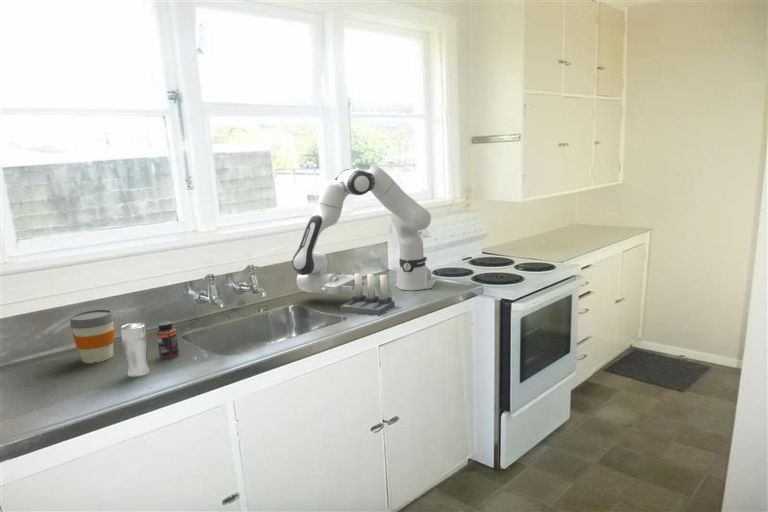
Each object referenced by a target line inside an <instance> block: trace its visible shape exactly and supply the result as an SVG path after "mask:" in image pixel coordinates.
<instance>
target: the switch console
mask: <svg viewBox="0 0 768 512" xmlns="http://www.w3.org/2000/svg"><path fill="white" fill-rule="evenodd" d="M366 278H367V279H366V280H367V296H366V298H365V299H364V300H362V301H352V299H351V300H349V301H347V302H345V303H343V304H341V305H339V311H340V312H339V313H345V314H346V313H348V314H355V313H357V314H358V315H365V314H368V315H367V316H374V315H378V316H377V317H380V316H382V315H384V314H386V313H387V312H389V311H390V310H392V309H393V308H395V306H396V305H395V300H393V297H392V296H389V288H388V287H389V283H388V281H389V280H388V274H387V275H386V274H382V275H381V274H380V276H379V282H380V283H379V284H380V287H379V288H380V297H379V295H376V283H375V281H376V280H375V274H372V273H371V274H370V273H369V274H367V277H366ZM391 308H392V309H391ZM389 309H390V310H389ZM386 311H387V312H386ZM383 313H384V314H383ZM357 314H356V315H357ZM381 314H382V315H381Z"/></svg>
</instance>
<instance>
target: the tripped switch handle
mask: <svg viewBox="0 0 768 512" xmlns="http://www.w3.org/2000/svg"><path fill="white" fill-rule="evenodd" d="M354 275H355V286H354V288H355V290H354V292H355V295H354V296H352V298H351V300H352V301H362V300H364V299H365V298H366V297H367V295H366V294H363V286H362V281H363V275H362V273H361V272H360V273H354Z"/></svg>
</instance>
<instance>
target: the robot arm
mask: <svg viewBox="0 0 768 512" xmlns="http://www.w3.org/2000/svg"><path fill="white" fill-rule="evenodd" d="M368 192H371V193H372V195H374V197H375V198H376V199H377V200H378V202H380V203H381V205H383V206H384V207H385V209H386V210H387V211H389V212H391V215H390V218H391V221H392V223H393V224H394V227H395V229H396V235H397V237H398V240H399V241H398V243H399V258H398V259H399V261H398V262H399V268H398V269H397V270H396V271H397V272H396V274H397V275H396V277H397V279H396V282H395V283H394V286H395V287H397V289H399V290H403V291H421V290H429V289H430V288H431V289H432V288H433V287H434V286H435V284H436V283H437V280H436V279H433V278H432V271H431V269H430V268H429V267H428V266H427V265H426V263H427V261H428V257H427V256H424V240H423V239H422V237H421V235H420V233H419V231H422V230H426V229H427V228H428V227H430V224H431V220H432V215H431V213H430V211H428V210H427V209H425V208H424V207H423V206H422V205H420V204H419V203H418V202H417V201H415V200H414V199H413V198H412V197H410V196H409V195H408V194H407V193H406V192H405V191H404V190H403V189H402V188H401V187H400V186H399V184H398V183H397V182H396V181H395V180H394V179H393V178H392V177H391V176H390V174H388V173H387V172H386V171H385V170H383V168H381V167H379V166H373V167H370V168H368V169H367V170H366V171H364V170H360V169H357V168H355V169H354V168H347V169H344V170H342V171H341V172H340V173H339V174H338V175H337V176H336V178H335V179H329V180H327V181H325V182H324V184H323V186H322V188H321V189H320V192H319V195H318V199H317V203H316V206H315V208H314V209H315V210H314V212H313V214H312V216H311V217H310V218H309V221H308V222H307V225H306V226H305V230H304V233H303V235H302V237H301V238H302V239H301V241H300V243H299V247H298V249H297V250H296V252H295V253H294V255H293V257H292V260H291V262H292V268H293V270H294V272H295V273H296V274H297V276H296V285H297V287H298V288H299V289H300V290H301V291H303V292H308V293H316V294H317V293H321V294H327V295H328V294H329V295H338V294H342V293H343V292H352V291H355V290H354V288H355V274H354V275H353V274H346V273H345V274H344V272H337V273H332V272H331V273H328V270H329V264H330V263H329V258H328V256H327V254H325V252H323V251H314V250H315V248H316V245H317V242H318V240H319V236H320V235H321V233H323V231H324V230H326V229H328V228H329V227H332V226H334V225H336V224H337V223H338V221H339V219H340V217H341V214H342V211H343V208H344V207H343V205H344V202H345V199H346V198H347V196H349V195H354V196H363V195H365V194H367V193H368ZM433 285H434V286H433ZM363 286H365V281H364V280H362V287H363Z"/></svg>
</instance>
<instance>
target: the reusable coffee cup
mask: <svg viewBox="0 0 768 512" xmlns="http://www.w3.org/2000/svg"><path fill="white" fill-rule="evenodd" d="M69 319H70V323H69V324H70V328H71V329H72V331H73V334H72V337H73V340H74V343H75V347H76V348H77V349H78V350H79V355H80V358H81V359H82V360H81V361H82V363H84V362H86V363H85V364H95V363H94V362H97V363H101V362H100V361H102V362H105V361H107V359H108V360H109V358H110V359H112V358H113V357H114V342H115V326H114V320H115V318H114V313H113V310H111V309H105V308H104V309H103V308H101V309H92V310H86V311H81V312H77V313H75V314H74V315H73V314H72V316H70V317H69ZM112 356H113V357H112ZM111 357H112V358H111ZM104 360H105V361H104Z"/></svg>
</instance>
